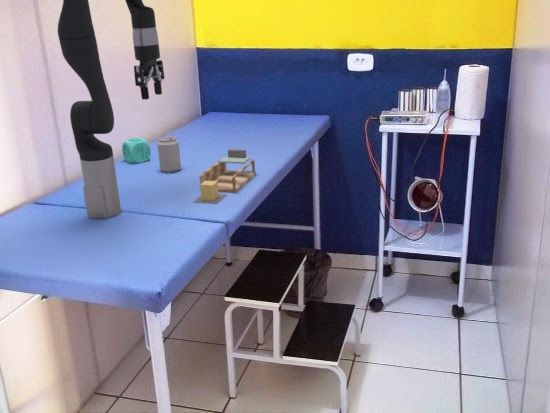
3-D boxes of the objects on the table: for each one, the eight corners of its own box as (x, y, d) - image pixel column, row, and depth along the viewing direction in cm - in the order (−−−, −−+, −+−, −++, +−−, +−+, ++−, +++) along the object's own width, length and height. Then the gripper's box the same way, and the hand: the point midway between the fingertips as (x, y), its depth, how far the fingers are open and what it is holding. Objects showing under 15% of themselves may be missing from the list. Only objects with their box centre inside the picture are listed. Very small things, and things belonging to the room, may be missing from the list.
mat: (217, 205, 181) (217, 203, 180) (193, 203, 183) (192, 202, 183) (227, 196, 188) (227, 194, 188) (203, 195, 190) (203, 193, 190)
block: (213, 200, 183) (212, 185, 181) (201, 200, 184) (200, 184, 182) (218, 196, 186) (217, 181, 185) (206, 195, 188) (205, 180, 186)
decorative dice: (132, 164, 227) (130, 144, 225) (123, 160, 233) (120, 140, 230) (151, 160, 232) (149, 140, 229) (142, 156, 238) (139, 136, 235)
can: (177, 173, 214) (173, 140, 210) (157, 173, 215) (153, 140, 211) (184, 167, 221) (180, 135, 217) (164, 167, 222) (161, 135, 218)
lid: (244, 163, 200) (243, 154, 199) (219, 162, 202) (218, 153, 201) (250, 158, 206) (250, 149, 205) (226, 157, 208) (225, 148, 207)
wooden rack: (236, 194, 190) (234, 177, 188) (200, 192, 193) (199, 175, 191) (256, 175, 207) (255, 159, 205) (223, 173, 211) (222, 158, 209)
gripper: (145, 45, 176) (152, 101, 181) (167, 40, 189) (173, 92, 194) (123, 46, 178) (130, 100, 184) (146, 41, 191) (152, 92, 196)
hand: (152, 96), depth 189 cm, fingers open, 8 cm apart
